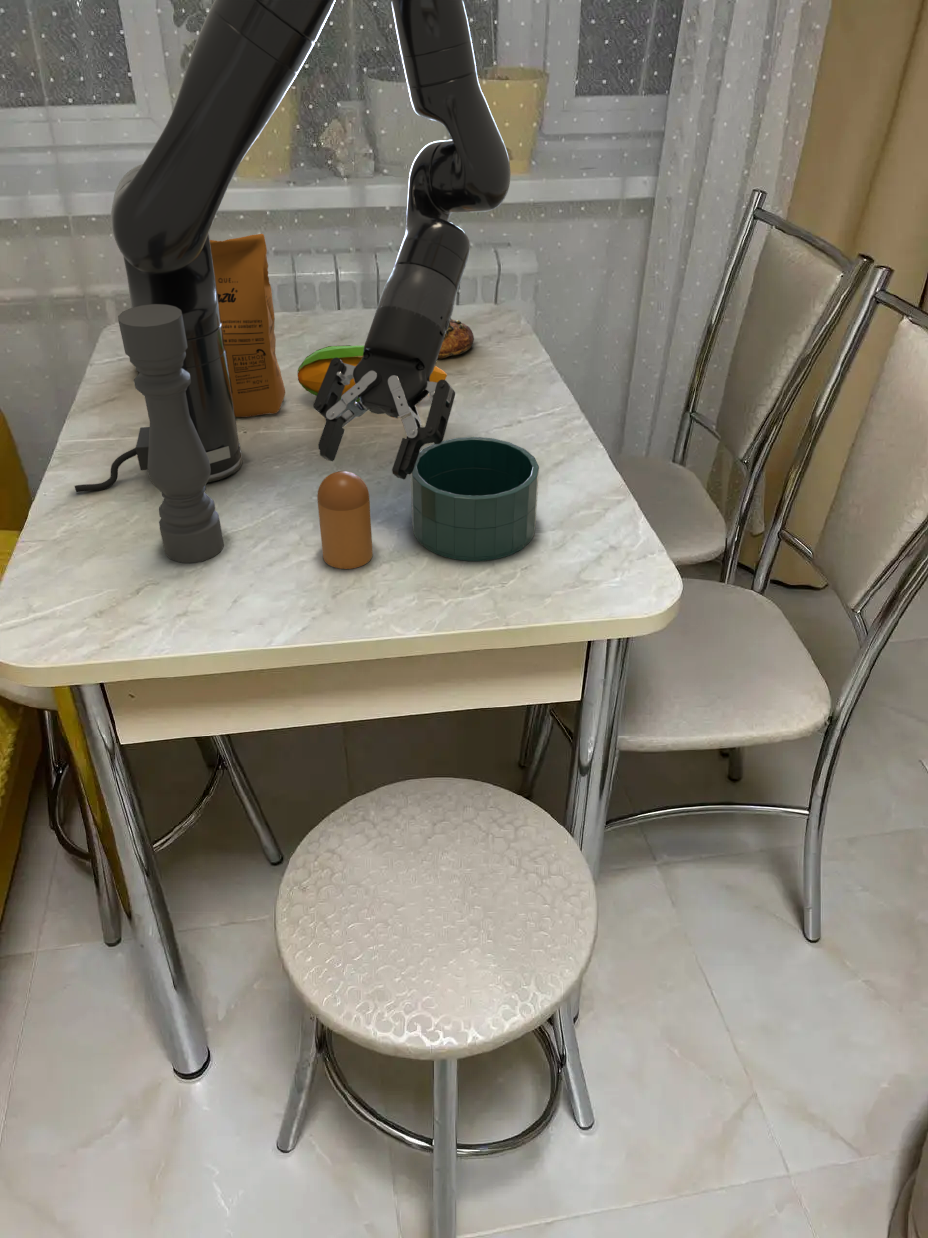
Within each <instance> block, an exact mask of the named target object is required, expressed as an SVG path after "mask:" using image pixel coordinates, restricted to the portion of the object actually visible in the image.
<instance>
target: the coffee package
mask: <svg viewBox="0 0 928 1238" xmlns="http://www.w3.org/2000/svg"><path fill="white" fill-rule="evenodd" d="M210 245H211V253H212V260H213V267H214V273H215V279H216V286H217V294H218V301H219V310H220V317H221V324H222V330H223V337H224V344H225V351H226V357H227V364H228V371H229V378H230V384H231V391H232V398H233V405H234V411H235V418H249V417H256V416H262V415H271V414H277V413H278V412H280V410H281V408H282V404H283V401H284V399H285V397H286V388H285V384H284V380H283V376H282V371H281V369H280V366H279V363H278V359H277V354H276V347H277V345H276V343H277V340H276V334H275V322H276V321H275V320H276V318H275V308H274V301H273V293H272V286H271V283H270V278H269V262H268V257H267V253H268V248H267V243H266V238H265V234H264V233H257V234H250V235H245V236H241V237H235V238H229V239H225V240H214V239H210Z"/></svg>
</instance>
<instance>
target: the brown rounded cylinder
mask: <svg viewBox="0 0 928 1238" xmlns="http://www.w3.org/2000/svg"><path fill="white" fill-rule="evenodd" d="M316 497H317V500H316V501H317V509H318V519H319V520H318V521H319V529H320V530H319V531H320V540H321V541H320V542H321V550H322V558H323V561H324V562H325V563H326V564H327V565H328V566H330V567H332V568H335V569H341V570H351V569H357V568H361V567H363V566H365V565H367V564H368V563H369V562H370V561H371V560H372V558H373V556H374V555H373V554H374V553H373V552H374V551H373V536H372V535H373V533H372V520H371V519H372V518H371V504H370V503H371V501H370V491H369V489H368V486H367V484H366V482H365V481H364V480H363V478H361V476H359V475H357V474H355V473H354V472H351V471H347V470H339V471H335V472H332V473H330V474H328V475H327V476H326V477H324V478H323V480H322V481H321V482H320V484H319V486H318V489H317V494H316Z"/></svg>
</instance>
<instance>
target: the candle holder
mask: <svg viewBox="0 0 928 1238" xmlns="http://www.w3.org/2000/svg"><path fill="white" fill-rule="evenodd" d="M117 320H118V326H119V330H120V335H121V340H122V344H123V349H124V354H125V355H126V356H127V357H129V362H130V363H131V364H132V365H133V366H134V367H135V369H136V371H137V372H139V373H138V374H137V375H136V376H135V378H134V379H133V384H134V387H135V390H136V391H138V392H139V393H140V394H141V395H142V396H144V400H145V406H146V410H147V415H148V419H149V427H150V429H149V451H148V470H147V474H148V478H149V480H150V482H151V483H152V485H154V487H155V488H156V489H157V490H158V491H159V492H160V493H161V497H162V498H163V500H162V502H161V504H160V506H159V507H158V515H159V518H160V519H159V520H158V524H159V525H158V526H159V532H160V536H161V540H162V545H163V550H164V554H165V556H167V557H168V559H170V560H171V561H174V562H177V563H184V564H193V563H200V562H204V561H205V562H206V561H207V560H209V559H212V558H214V557H216V556H217V555H218V554H220V553H221V552H222V550H223V548H224V546H225V543H224V537H223V531H222V525H221V520H220V515H219V514H220V513H219V512H218V511H217V510H216V505H215V501H214V499H213V498H212V497H210V496H209V495H208V494H207V493H206V491H207V487H206V485H207V483H208V482H207V481H208V479H209V477H210V473H211V468H210V462H209V458H208V456H207V454H206V451H205V449H204V447H203V445H202V443H201V440H200V438H199V436H198V433H197V431H196V429H195V427H194V424H193V422H192V420H191V418H190V414H189V409H188V403H187V398H186V392H185V391H186V390H187V387H188V386H189V385H190V383H191V379H190V373H188V372H187V371H185V370H184V369H182V368H181V367H182V366H183V361H184V359H185V357H186V352H185V350H186V349H187V348H188V346H187V340H186V335H185V329H184V323H183V317H182V312H181V310H180V309H179V308H177V307H175V306H170V305H163V304H151V305H142V306H137V307H133V308H131V307H130V308H127V309H126V310H123V311H122V312H121V313H119V314H118V315H117Z"/></svg>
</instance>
